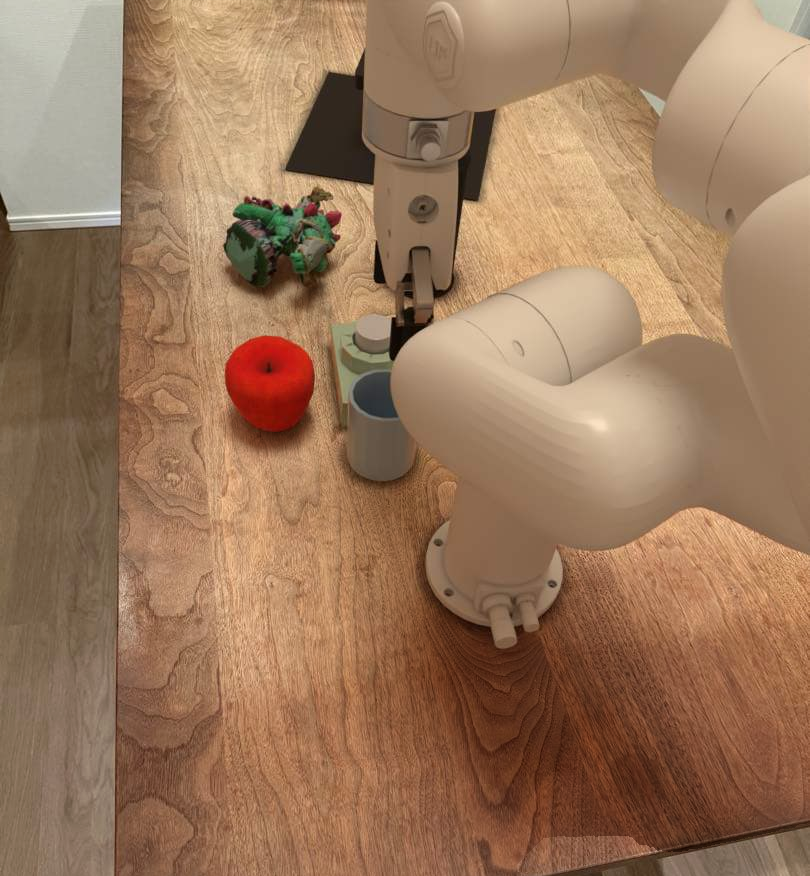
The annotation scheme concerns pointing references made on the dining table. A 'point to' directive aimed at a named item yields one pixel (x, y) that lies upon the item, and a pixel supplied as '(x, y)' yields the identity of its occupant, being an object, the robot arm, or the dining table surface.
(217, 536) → the dining table surface
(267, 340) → the apple
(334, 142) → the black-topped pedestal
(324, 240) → the figurine
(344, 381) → the push button box
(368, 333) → the round grey push button
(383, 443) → the cup
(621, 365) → the robot arm
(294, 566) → the dining table surface
